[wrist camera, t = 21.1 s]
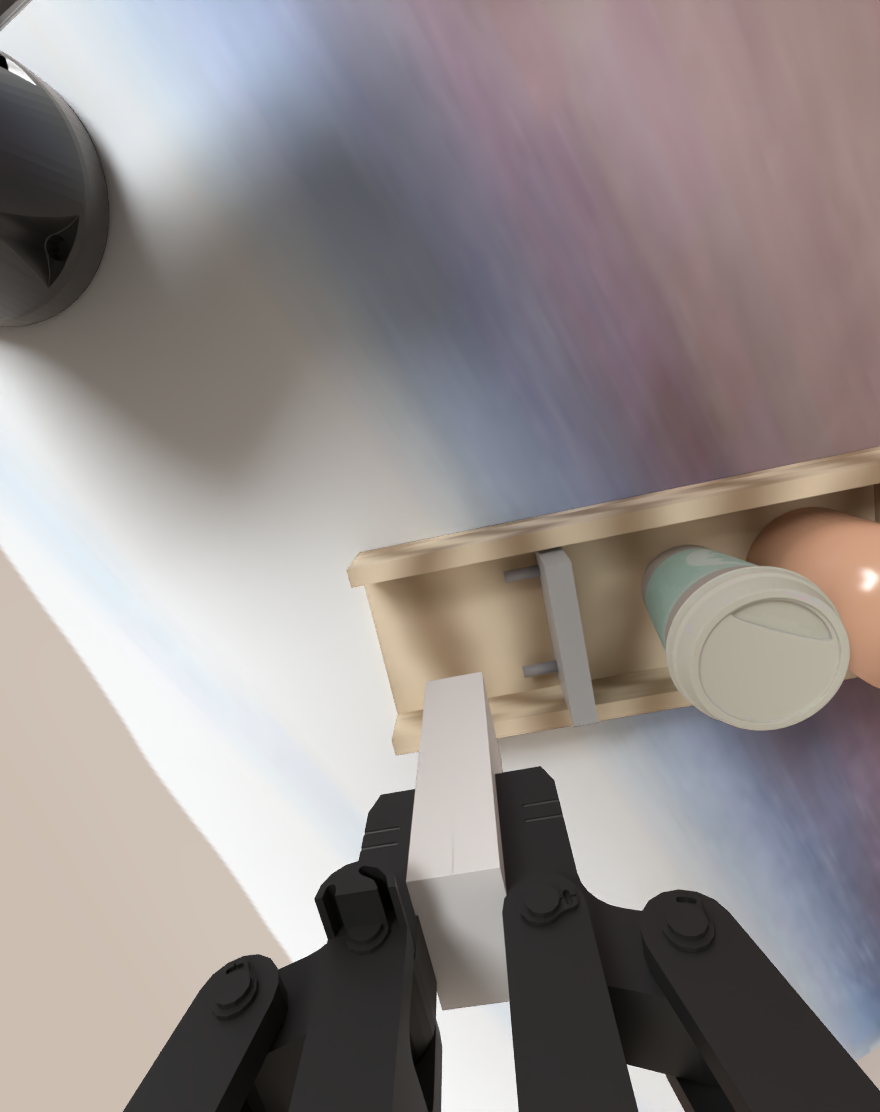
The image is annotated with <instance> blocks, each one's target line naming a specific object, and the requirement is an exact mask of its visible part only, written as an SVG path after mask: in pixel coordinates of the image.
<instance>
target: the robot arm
mask: <svg viewBox="0 0 880 1112" xmlns="http://www.w3.org/2000/svg"><path fill="white" fill-rule="evenodd" d="M31 1H32V0H0V31H1V30H2V29H3V28H4V27H5V26H6V25H7V24H8V23H9V22H10V21H11V20H13V19H14V18H15V17H16V16H17V15H18V14H19V13H20V12H21V11H22V10H23V9H24V8H25V7H26V6H27V5H28V4H29V3H30V2H31ZM108 222H109V205H108V194H107V188H106V182H105V178H104V174H103V170H102V167H101V163H100V160H99V158H98V155H97V152H96V150H95V148H94V145H93V143H92V141H91V139H90V137H89V135H88V133H87V132H86V130H85V128H84V126H83V125H82V123H81V122H80V120H79V119H78V117H77V116H76V114H75V113H74V112H73V110H72V109H71V108H70V107H69V105H68V104H67V103H66V102H65V101H64V100H63V99H62V97H61V96H60V95H59V94H58V93H57V92H56V91H55V90H53V89H52V88H51V87H50V86H49V85H48V84H47V83H45V82H44V81H43V80H41V79H40V78H39V77H38V76H36V75H35V74H34V73H32V72H31V71H30V70H28V69H27V68H26V67H24V66H23V65H22V64H20V63H19V62H18V61H16V60H15V59H13V58H12V57H10V56H9V55H7V54H6V53H4V52H2V51H0V326H22V325H29V324H33V323H37V322H40V321H43V320H46V319H48V318H50V317H52V316H54V315H56V314H58V313H60V312H61V311H63V310H64V309H66V308H67V307H68V306H69V305H71V304H72V303H73V302H74V301H75V300H76V299H77V298H78V297H79V296H80V295H81V294H82V293H83V291H84V290H85V289H86V287H87V286H88V285H89V283H90V282H91V280H92V278H93V276H94V275H95V273H96V271H97V268H98V266H99V264H100V261H101V258H102V256H103V252H104V248H105V245H106V239H107V233H108ZM361 848H362V851H361V852H360V857H359V861H358V862H354V863H351V864H348V865H345V866H344V867H342V868H341V869H339V870H337V871H336V872H334V873H333V874H331V875H330V876H329V878H328V879H327V880H326V881H325V882H324V883H323V884H322V885H321V886H320V889H319V891H318V893H317V895H316V897H315V902H316V905H317V908H318V911H319V914H320V917H321V920H322V923H323V926H324V929H325V932H326V935H327V938H328V942H327V944H326V945H324V946H323V947H322V948H321V949H319V950H318V951H316V952H314V953H312V954H311V955H309V956H307V957H305V958H303V959H301V960H298V961H296V962H294V963H292V964H290V965H288V966H285V967H283V968H281V969H279V970H278V968H277V967H276V965H275V964H274V963H273V961H272V960H271V958H268V957H265V956H262V955H259V954H258V955H248V956H243V957H241V958H238V959H236V960H234V961H232V962H229V963H227V964H226V965H225V966H224V967H222V968H221V969H220V970H218V971H217V972H216V973H215V974H213V975H212V976H211V978H210V979H209V980H208V981H207V982H206V984H205V985H204V986H203V987H202V989H201V990H200V991H199V993H198V994H197V996H196V998H195V999H194V1001H193V1002H192V1004H191V1005H190V1007H189V1008H188V1010H187V1012H186V1013H185V1015H184V1016H183V1018H182V1020H181V1021H180V1023H179V1024H178V1026H177V1027H176V1029H175V1031H174V1032H173V1034H172V1035H171V1037H170V1038H169V1040H168V1042H167V1043H166V1045H165V1046H164V1048H163V1049H162V1051H161V1052H160V1054H159V1056H158V1057H157V1059H156V1060H155V1062H154V1063H153V1065H152V1067H151V1068H150V1070H149V1071H148V1073H147V1075H146V1076H145V1078H144V1079H143V1081H142V1082H141V1084H140V1086H139V1087H138V1089H137V1090H136V1092H135V1094H134V1095H133V1097H132V1098H131V1100H130V1101H129V1103H128V1104H127V1106H126V1108H125V1109H124V1111H123V1112H441V1085H442V1043H441V1037H440V1031H439V1028H438V1024H437V1021H436V996H437V993H438V997H439V1000H440V1004H441V1007H442V1010H449V1009H456V1008H463V1007H471V1006H478V1005H486V1004H493V1003H500V1002H508V1001H510V1012H511V1024H512V1036H513V1048H514V1060H515V1071H516V1083H517V1095H518V1107H519V1112H638V1108H637V1104H636V1100H635V1096H634V1092H633V1088H632V1084H631V1080H630V1076H629V1072H628V1068H627V1064H628V1065H632V1066H636V1067H640V1068H644V1069H648V1070H652V1071H656V1072H660V1073H664V1074H666V1077H667V1079H668V1081H669V1083H670V1085H671V1087H672V1088H673V1090H674V1092H675V1094H676V1096H677V1098H678V1100H679V1101H680V1103H681V1105H682V1107H683V1109H684V1111H685V1112H880V1091H879V1089H878V1088H877V1087H876V1086H875V1085H874V1084H873V1082H872V1081H871V1080H870V1079H869V1078H868V1076H867V1075H866V1074H865V1073H864V1072H863V1070H862V1069H861V1068H860V1067H859V1066H858V1064H857V1063H856V1062H855V1061H854V1060H853V1058H852V1057H851V1056H850V1055H849V1054H848V1053H847V1051H846V1050H845V1049H844V1048H843V1047H842V1045H841V1044H840V1043H839V1042H838V1041H837V1040H836V1038H835V1037H834V1036H833V1035H832V1034H831V1032H830V1031H829V1030H828V1029H827V1028H826V1026H825V1025H824V1024H823V1023H822V1022H821V1021H820V1019H819V1018H818V1017H817V1016H816V1015H815V1013H814V1012H813V1011H812V1010H811V1009H810V1007H809V1006H808V1005H807V1004H806V1003H805V1002H804V1000H803V999H802V998H801V997H800V996H799V994H798V993H797V992H796V991H795V990H794V988H793V987H792V986H791V985H790V984H789V983H788V981H787V980H786V979H785V978H784V977H783V975H782V974H781V973H780V972H779V971H778V970H777V968H776V967H775V966H774V965H773V964H772V962H771V961H770V960H769V959H768V958H767V956H766V955H765V954H764V953H763V952H762V951H761V949H760V948H759V947H758V946H757V945H756V943H755V942H754V941H753V940H752V939H751V937H750V936H749V935H748V934H747V933H746V932H745V930H744V929H743V928H742V927H741V926H740V924H739V923H738V922H737V921H736V920H735V919H734V917H733V916H732V915H731V914H730V913H729V912H728V911H727V910H726V909H725V908H724V907H723V906H721V905H720V904H719V903H718V902H717V901H716V900H714V899H712V898H710V897H707V896H705V895H703V894H701V893H698V892H694V891H686V890H673V891H668V892H663V893H661V894H659V895H657V896H656V897H654V898H652V899H651V900H649V901H648V903H647V904H646V906H645V908H644V909H643V911H638V910H632V909H625V908H620V907H616V906H612V905H609V904H607V903H605V902H603V901H601V900H598V899H597V898H596V897H594V896H593V895H592V894H591V893H589V892H588V891H587V890H586V888H585V887H584V886H583V884H582V883H581V881H580V879H579V876H578V874H577V870H576V866H575V862H574V858H573V854H572V850H571V846H570V842H569V838H568V834H567V830H566V826H565V822H564V818H563V814H562V810H561V806H560V802H559V798H558V794H557V790H556V786H555V782H554V780H553V779H552V778H551V777H550V776H549V775H548V773H547V772H546V771H545V770H544V769H543V768H542V767H541V766H539V767H534V768H528V769H522V770H516V771H510V772H504V773H503V771H502V763H501V757H500V752H499V748H498V743H497V738H496V734H495V729H494V725H493V720H492V715H491V711H490V706H489V701H488V697H487V692H486V688H485V683H484V678H483V674H482V672H477V673H472V674H466V675H461V676H455V677H450V678H444V679H439V680H433V681H428V682H426V690H425V699H424V709H423V719H422V729H421V739H420V749H419V759H418V768H417V778H416V788H415V789H413V790H407V791H401V792H395V793H389V794H383V795H381V796H380V797H379V799H378V800H377V801H376V803H375V804H374V806H373V807H372V809H371V810H370V811H369V813H368V818H367V823H366V828H365V835H364V837H363V842H362V847H361Z"/></svg>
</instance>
